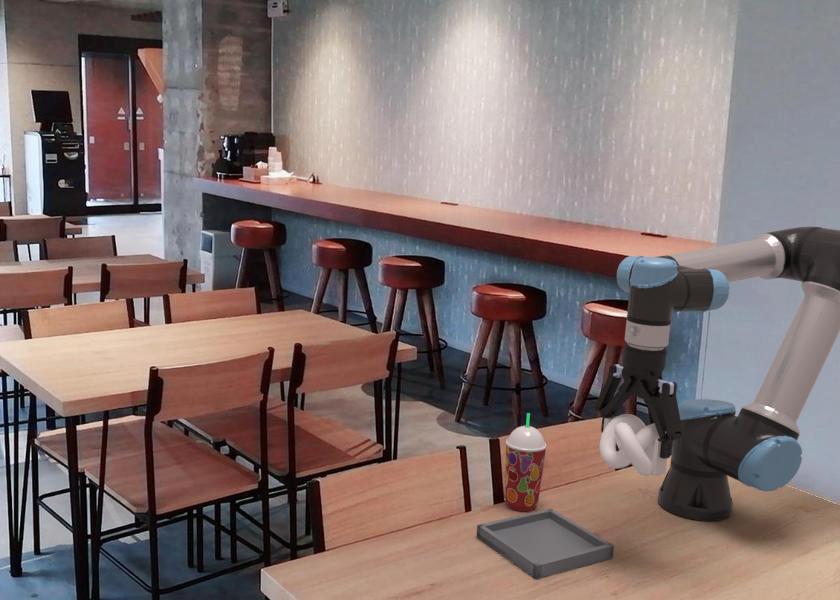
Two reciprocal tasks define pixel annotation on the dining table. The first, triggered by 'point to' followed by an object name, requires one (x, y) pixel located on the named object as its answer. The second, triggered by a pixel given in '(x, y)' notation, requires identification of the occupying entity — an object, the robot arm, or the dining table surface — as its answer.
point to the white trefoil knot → (629, 443)
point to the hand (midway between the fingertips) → (632, 462)
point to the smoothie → (524, 467)
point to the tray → (544, 543)
